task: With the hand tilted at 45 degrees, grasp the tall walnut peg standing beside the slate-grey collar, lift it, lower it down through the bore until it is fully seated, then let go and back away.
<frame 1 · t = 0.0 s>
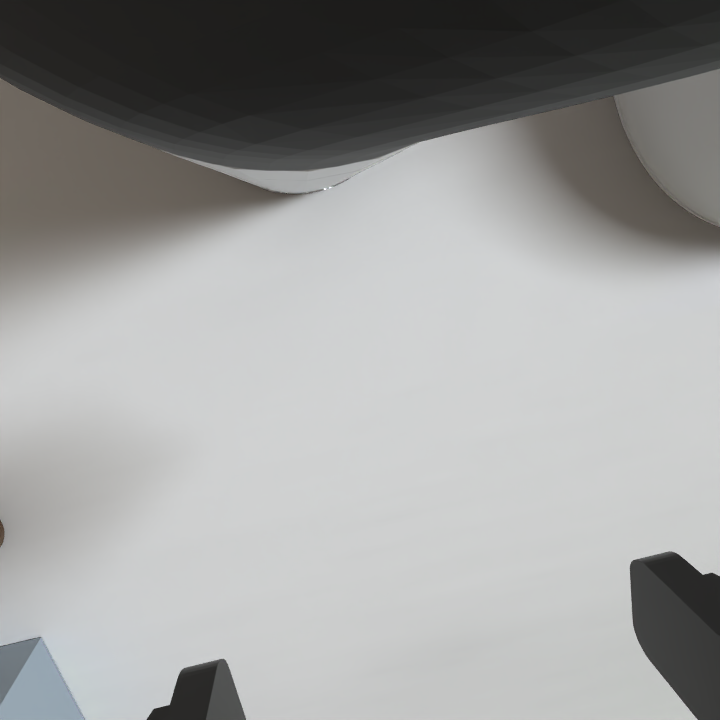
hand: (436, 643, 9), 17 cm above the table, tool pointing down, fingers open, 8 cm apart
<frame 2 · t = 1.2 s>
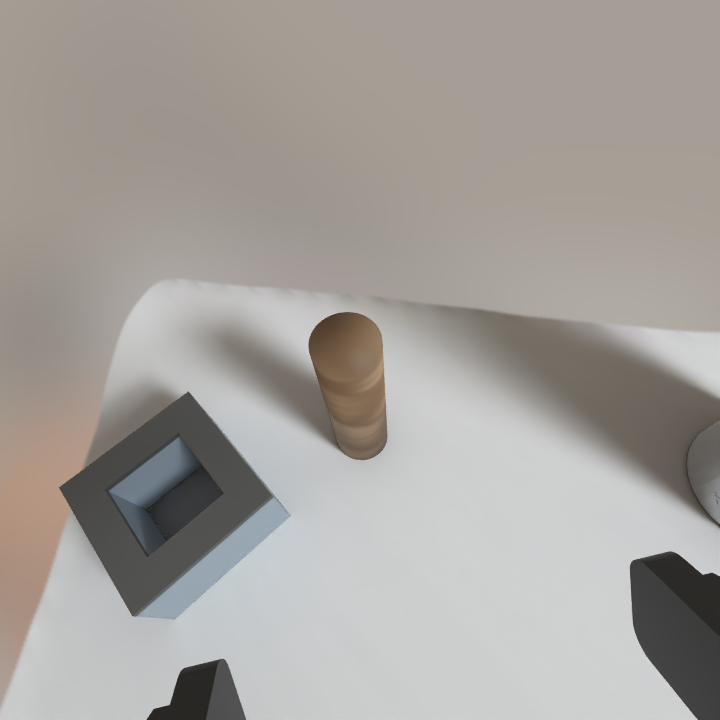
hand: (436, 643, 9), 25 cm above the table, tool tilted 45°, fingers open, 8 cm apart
collar: (197, 511, 36), on the table
walnut peg: (361, 435, 38), on the table
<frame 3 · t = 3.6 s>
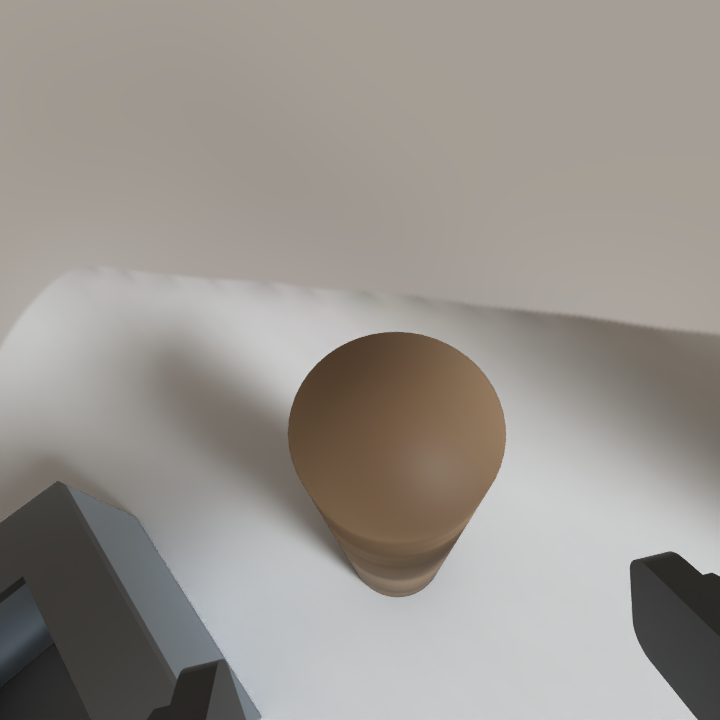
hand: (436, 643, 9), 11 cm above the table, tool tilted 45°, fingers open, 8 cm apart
collar: (85, 702, 19), on the table
walnut peg: (396, 546, 21), on the table
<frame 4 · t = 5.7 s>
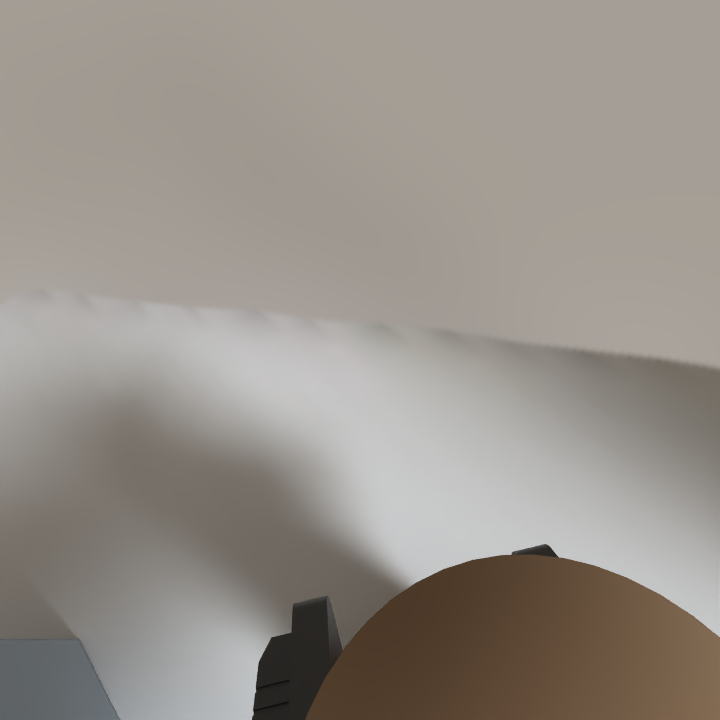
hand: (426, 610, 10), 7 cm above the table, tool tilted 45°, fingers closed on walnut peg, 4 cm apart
walnut peg: (431, 689, 15), on the table, touching gripper
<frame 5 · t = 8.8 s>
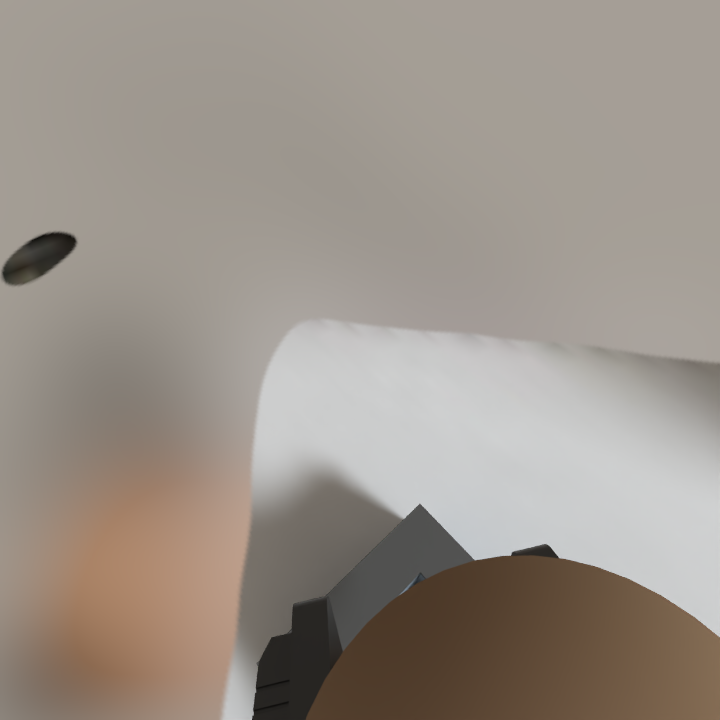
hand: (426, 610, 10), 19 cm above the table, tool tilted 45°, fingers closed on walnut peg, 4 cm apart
collar: (416, 666, 26), on the table
walnut peg: (431, 689, 15), point 12 cm above the table, touching gripper
when the fingers open (8 cm above the table, at t = 12.0 s): walnut peg stays where it is, resting in collar.
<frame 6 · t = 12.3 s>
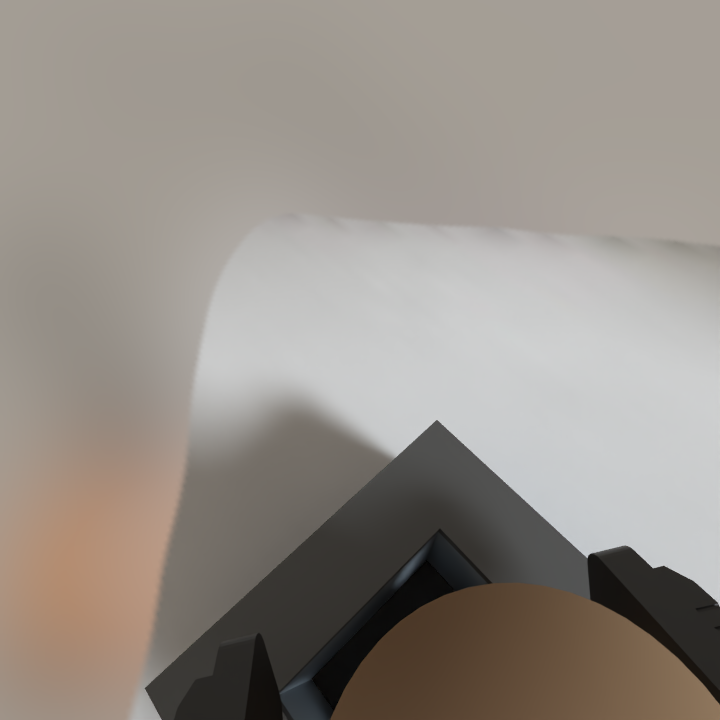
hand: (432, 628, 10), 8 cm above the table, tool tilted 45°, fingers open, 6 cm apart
collar: (428, 687, 16), on the table
walnut peg: (431, 689, 16), resting in collar
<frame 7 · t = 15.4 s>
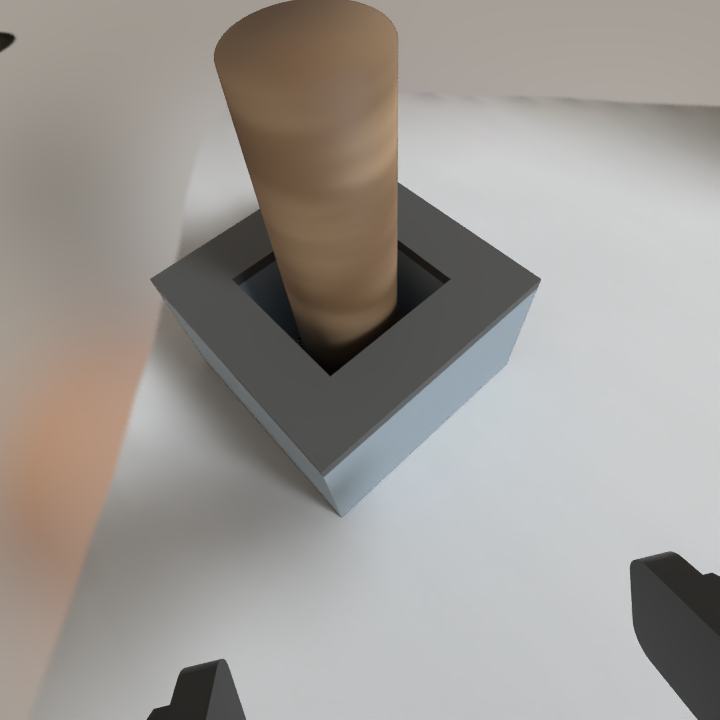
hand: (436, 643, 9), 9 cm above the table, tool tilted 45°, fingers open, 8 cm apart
collar: (352, 361, 23), on the table
walnut peg: (353, 363, 23), resting in collar
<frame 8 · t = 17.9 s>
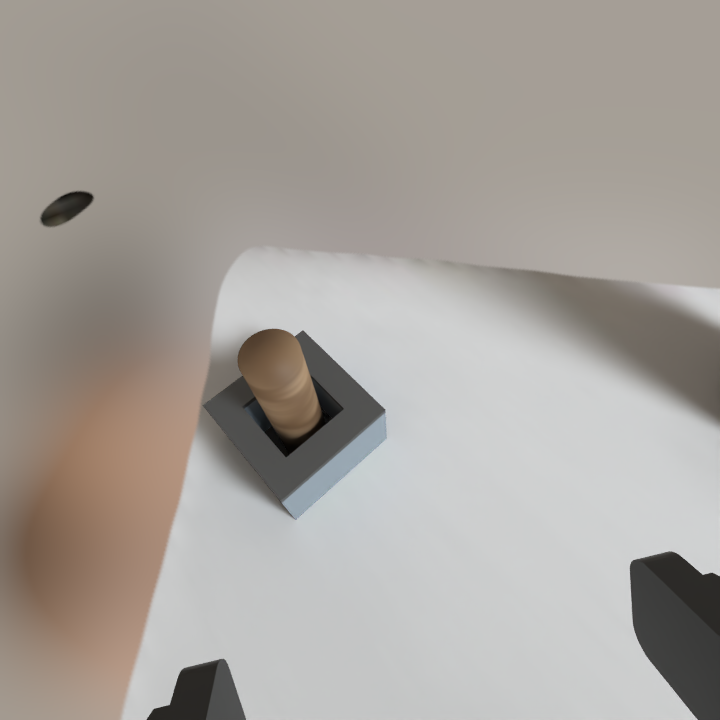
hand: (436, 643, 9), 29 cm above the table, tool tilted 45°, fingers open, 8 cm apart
collar: (305, 436, 42), on the table
walnut peg: (306, 436, 42), resting in collar
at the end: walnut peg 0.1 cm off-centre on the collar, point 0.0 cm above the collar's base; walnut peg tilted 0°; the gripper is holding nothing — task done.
